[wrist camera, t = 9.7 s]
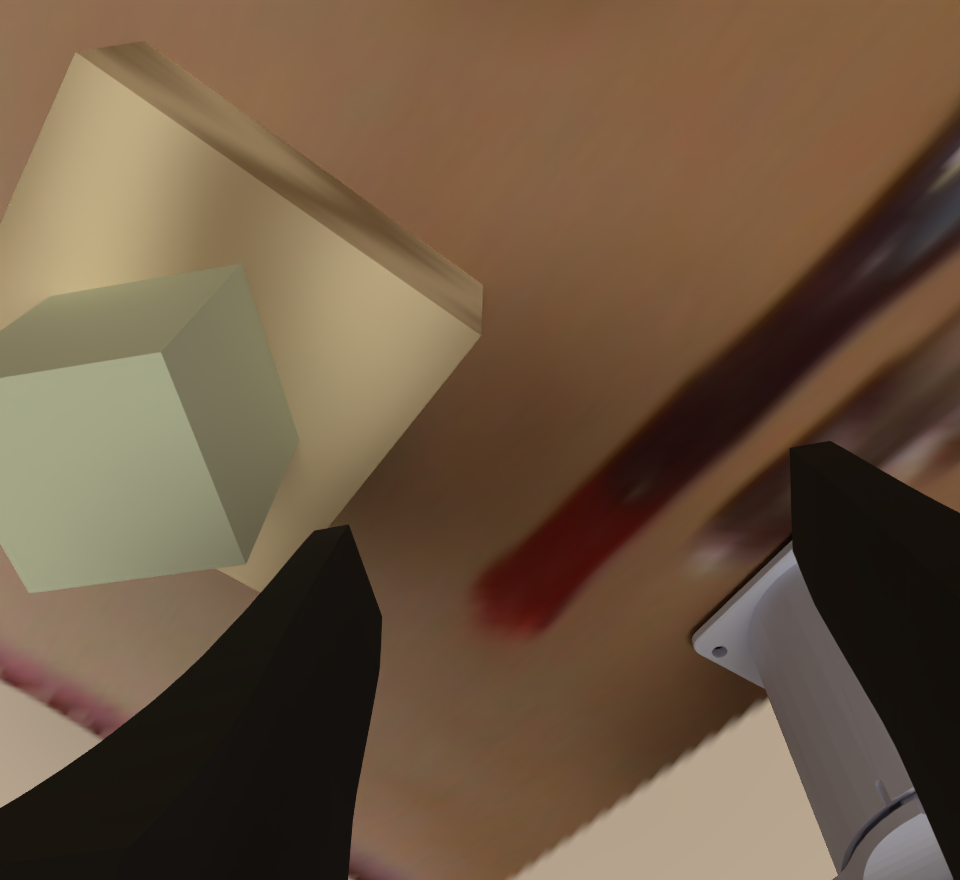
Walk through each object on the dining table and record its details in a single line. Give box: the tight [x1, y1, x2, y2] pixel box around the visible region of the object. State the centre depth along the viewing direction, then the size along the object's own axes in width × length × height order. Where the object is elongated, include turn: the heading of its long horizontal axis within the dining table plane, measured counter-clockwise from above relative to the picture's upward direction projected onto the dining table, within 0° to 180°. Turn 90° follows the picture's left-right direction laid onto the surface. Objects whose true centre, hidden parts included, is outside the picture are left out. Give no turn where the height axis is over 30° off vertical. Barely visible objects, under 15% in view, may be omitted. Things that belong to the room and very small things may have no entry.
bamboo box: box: [0, 41, 483, 593], centre depth 21 cm, size 10×10×4 cm
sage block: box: [0, 263, 299, 593], centre depth 17 cm, size 5×5×5 cm
